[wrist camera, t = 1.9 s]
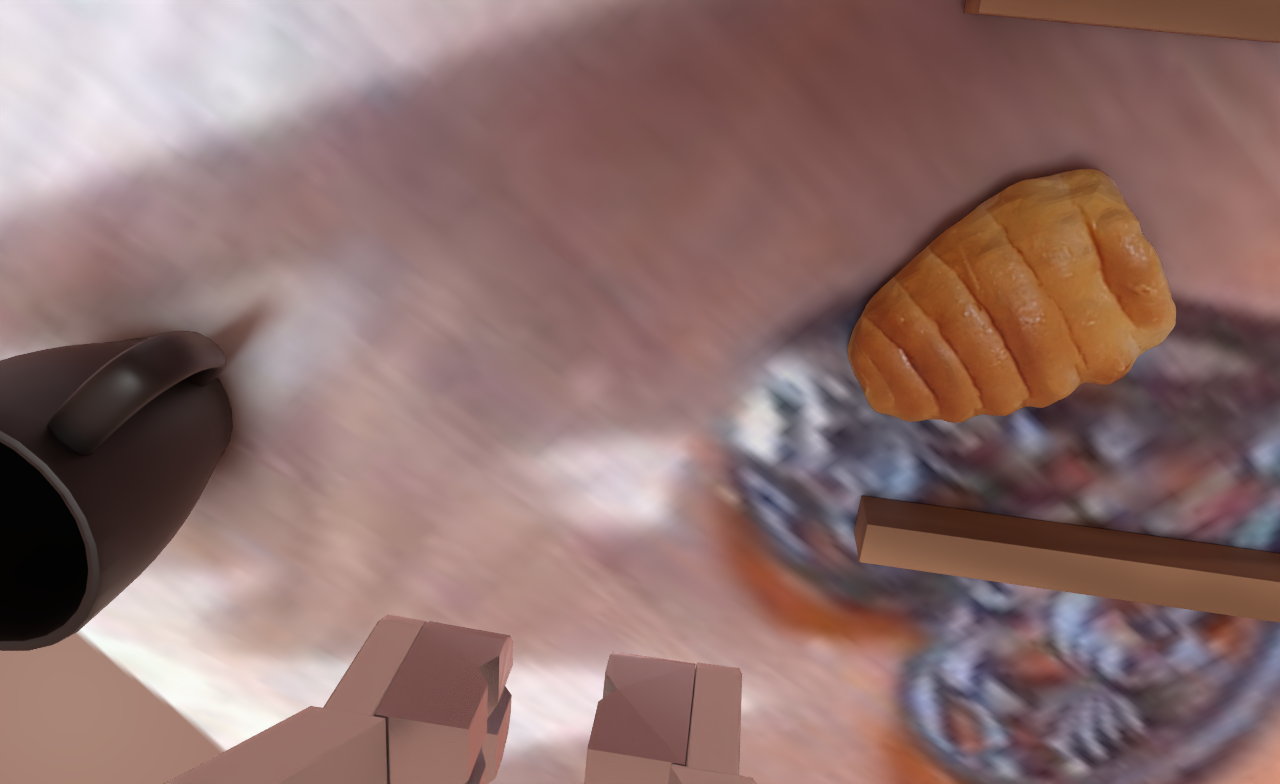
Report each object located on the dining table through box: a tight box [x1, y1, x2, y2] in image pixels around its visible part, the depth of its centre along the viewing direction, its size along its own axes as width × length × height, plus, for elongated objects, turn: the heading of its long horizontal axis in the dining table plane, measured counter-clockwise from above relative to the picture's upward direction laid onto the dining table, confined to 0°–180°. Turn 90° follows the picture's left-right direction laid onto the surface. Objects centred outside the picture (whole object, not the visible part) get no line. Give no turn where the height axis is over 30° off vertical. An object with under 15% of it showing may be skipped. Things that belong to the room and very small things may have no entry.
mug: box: [0, 331, 232, 651], centre depth 30 cm, size 8×12×10 cm
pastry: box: [847, 169, 1176, 423], centre depth 28 cm, size 9×7×4 cm
